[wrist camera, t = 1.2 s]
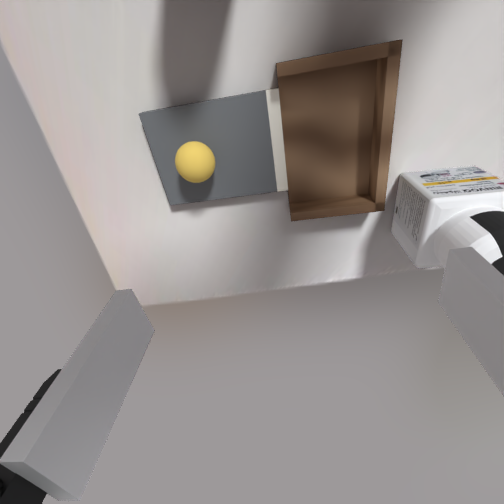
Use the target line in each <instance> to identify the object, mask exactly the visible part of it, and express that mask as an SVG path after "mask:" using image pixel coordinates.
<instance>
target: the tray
mask: <svg viewBox="0 0 504 504" xmlns="http://www.w3.org/2000/svg"><path fill="white" fill-rule="evenodd" d="M401 48H402V40H396V41H390V42H385V43H380V44H374V45H369V46H364V47H359V48H353V49H348V50H343V51H338V52H333V53H327V54H322V55H317V56H312V57H306V58H301V59H296V60H291V61H285V62H280V63H276V68H277V79H278V88H279V98H280V109H281V120H282V130H283V141H284V152H285V162H286V173H287V183H288V195H289V206H290V215H291V221H298V220H307V219H315V218H324V217H333V216H342V215H350V214H359V213H368V212H377V211H384V208H385V199H386V190H387V180H388V171H389V161H390V152H391V143H392V133H393V124H394V114H395V105H396V95H397V86H398V77H399V67H400V58H401Z"/></svg>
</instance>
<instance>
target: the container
mask: <svg viewBox="0 0 504 504" xmlns="http://www.w3.org/2000/svg"><path fill="white" fill-rule="evenodd" d="M391 233H392V234H393V236H394V237H395V238H396V240H397V241H398V243H399V244H400V246H401V247H402V248H403V250H404V251H405V253H406V254H407V256H408V257H409V258H410V260H411V261H412V263H413V264H414V266H415V267H416V268H432V267H444V268H445V267H446V262H447V258H448V253H449V249H456V248H465V247H473V248H474V249H475V250H476V251H477V252H478V253H479V254H480V255H481V256H482V257H484V258H485V259H486V260H487V261H488V262H489V263H490V264H491V265H492V266H494V267H495V268H496V269H497V270H498V271H499V272H500V273H501V274H502V275H504V180H503V179H501V178H499V177H497V176H495V175H493V174H491V173H489V172H487V171H485V170H483V169H481V168H479V167H477V166H475V165H470V166H460V167H451V168H441V169H432V170H423V171H413V172H404V173H401V174H400V177H399V184H398V190H397V196H396V203H395V209H394V215H393V222H392V228H391Z"/></svg>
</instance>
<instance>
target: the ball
mask: <svg viewBox="0 0 504 504" xmlns="http://www.w3.org/2000/svg"><path fill="white" fill-rule="evenodd" d="M175 165H176V169H177V171H178V173H179V174H180V175H181V176H182V177H183V178H184V179H185V180H187V181H189V182H193V183H200V182H203V181H205V180H207V179H208V178H210V176H211V175H212V174H213V172H214V169H215V157H214V154H213V152H212V151H211V149H210V148H209V147H208V146H206V145H205V144H203V143H201V142H197V141H191V142H187V143H185V144H183V145H182V146H181V147H180V148H179V149H178V151H177V153H176V156H175Z"/></svg>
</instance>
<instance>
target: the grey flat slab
mask: <svg viewBox="0 0 504 504" xmlns="http://www.w3.org/2000/svg"><path fill="white" fill-rule="evenodd" d="M139 116H140V119H141V122H142V125H143V128H144V131H145V134H146V137H147V139H148V142H149V145H150V148H151V151H152V154H153V157H154V160H155V163H156V166H157V168H158V171H159V174H160V177H161V180H162V183H163V186H164V189H165V192H166V195H167V197H168V200H169V203H170V205H177V204H185V203H192V202H200V201H208V200H216V199H223V198H231V197H239V196H247V195H254V194H262V193H270V192H278V191H286V190H288V183H287V173H286V162H285V152H284V141H283V130H282V120H281V109H280V98H279V88H275V89H269V90H264V91H258V92H252V93H247V94H241V95H236V96H230V97H225V98H219V99H213V100H208V101H202V102H197V103H191V104H185V105H180V106H174V107H169V108H163V109H158V110H152V111H146V112H142V113H139ZM191 141H197V142H201V143H203V144H205V145H206V146H208V147H209V148H210V149H211V151H212V152H213V154H214V157H215V169H214V172H213V174H212V175H211V176H210V178H208V179H207V180H205V181H203V182H200V183H193V182H189V181H187V180H185V179H184V178H183V177H182V176H181V175H180V174H179V173H178V171H177V169H176V165H175V156H176V153H177V151H178V149H179V148H180V147H181V146H182V145H183V144H185V143H187V142H191Z"/></svg>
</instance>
